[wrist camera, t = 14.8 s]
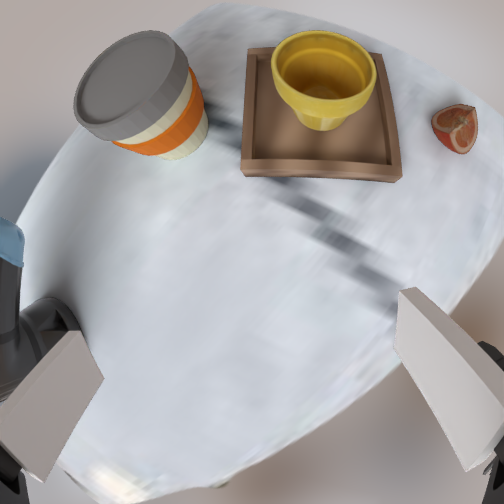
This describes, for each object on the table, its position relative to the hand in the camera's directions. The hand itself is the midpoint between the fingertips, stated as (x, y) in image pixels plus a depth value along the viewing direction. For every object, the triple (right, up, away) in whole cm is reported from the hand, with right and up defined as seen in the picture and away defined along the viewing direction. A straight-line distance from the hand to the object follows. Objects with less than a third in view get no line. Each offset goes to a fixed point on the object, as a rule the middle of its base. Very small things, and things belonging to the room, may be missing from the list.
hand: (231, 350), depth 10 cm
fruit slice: (+28, +20, +19) cm, 39 cm away
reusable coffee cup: (-9, +20, +25) cm, 34 cm away
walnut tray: (+9, +22, +22) cm, 32 cm away
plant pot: (+9, +22, +21) cm, 32 cm away
